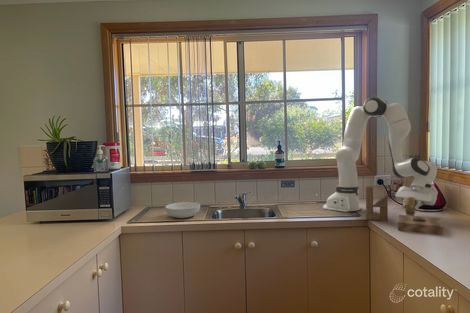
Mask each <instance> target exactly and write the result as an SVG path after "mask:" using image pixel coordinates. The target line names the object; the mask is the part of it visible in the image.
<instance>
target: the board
mask: <svg viewBox="0 0 470 313" xmlns="http://www.w3.org/2000/svg"><path fill="white" fill-rule="evenodd" d="M443 225H444V224H442V220H441V217H432V216H418V215H414V216H408V215H406V214H399V215H398V220H397V231H398V232H406V233H407V232H408V233H415V232H416V233H418V234H426V233H427V234H426V235H437V236H444V226H443Z"/></svg>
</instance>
